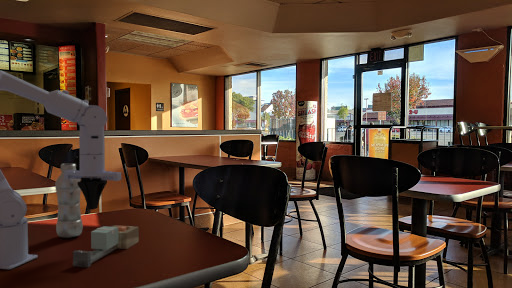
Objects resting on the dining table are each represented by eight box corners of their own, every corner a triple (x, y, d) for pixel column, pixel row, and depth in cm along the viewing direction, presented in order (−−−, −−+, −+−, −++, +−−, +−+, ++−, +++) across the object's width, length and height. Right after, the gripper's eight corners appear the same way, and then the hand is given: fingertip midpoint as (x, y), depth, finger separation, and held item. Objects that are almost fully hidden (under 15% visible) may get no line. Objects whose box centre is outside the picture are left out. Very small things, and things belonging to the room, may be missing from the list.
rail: (73, 266, 83) (72, 251, 83) (107, 247, 96) (107, 234, 96) (87, 267, 83) (87, 252, 83) (120, 248, 95) (120, 235, 95)
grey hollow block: (101, 247, 96) (101, 231, 96) (114, 240, 102) (114, 225, 102) (126, 249, 95) (126, 233, 95) (138, 241, 101) (138, 226, 101)
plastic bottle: (72, 241, 101) (71, 165, 100) (50, 239, 103) (48, 164, 101) (88, 234, 107) (87, 163, 106) (66, 232, 109) (65, 162, 108)
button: (111, 243, 98) (111, 228, 97) (118, 240, 100) (118, 225, 100) (122, 244, 97) (122, 229, 97) (128, 241, 100) (128, 226, 100)
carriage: (91, 248, 90) (90, 231, 90) (103, 242, 95) (103, 225, 95) (106, 249, 89) (106, 232, 89) (118, 243, 94) (118, 226, 94)
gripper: (127, 153, 97) (128, 206, 98) (76, 152, 100) (77, 203, 101) (111, 155, 90) (112, 212, 91) (57, 154, 93) (58, 209, 94)
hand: (92, 208), depth 95 cm, fingers closed
